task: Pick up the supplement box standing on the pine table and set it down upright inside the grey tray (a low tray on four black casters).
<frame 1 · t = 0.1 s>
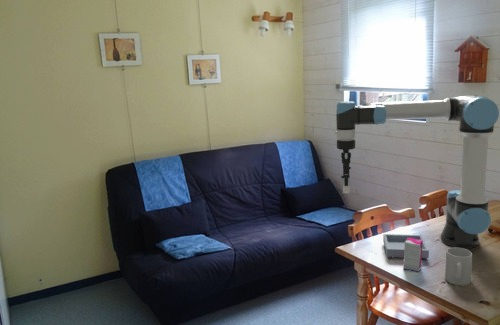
hand: (346, 188, 178), 28 cm above the table, fingers open, 13 cm apart
supplement box: (412, 268, 164), on the table
mug: (457, 282, 152), on the table
grey tray: (404, 252, 178), on the table
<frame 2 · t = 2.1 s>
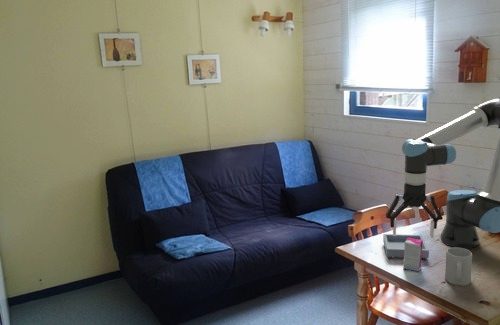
hand: (412, 235, 162), 13 cm above the table, fingers open, 13 cm apart
nothing on the table moved.
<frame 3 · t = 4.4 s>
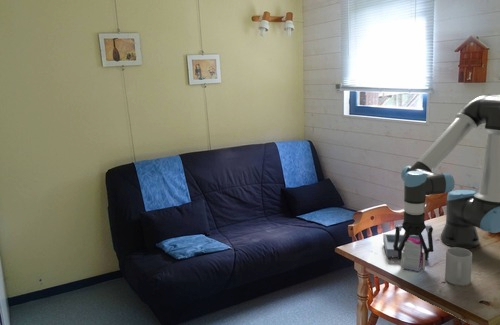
hand: (412, 267, 165), 0 cm above the table, fingers closed on supplement box, 7 cm apart
supplement box: (412, 268, 164), on the table, touching gripper
everything else where it was.
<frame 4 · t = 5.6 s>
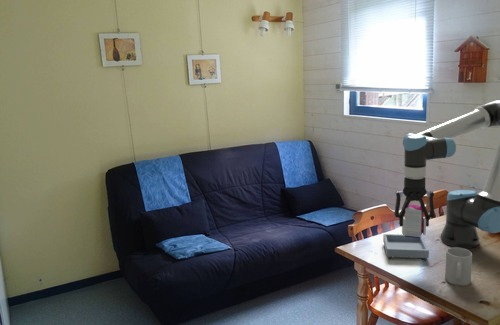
hand: (413, 233, 163), 14 cm above the table, fingers closed on supplement box, 7 cm apart
supplement box: (413, 235, 162), point 13 cm above the table, touching gripper
everything else where it was.
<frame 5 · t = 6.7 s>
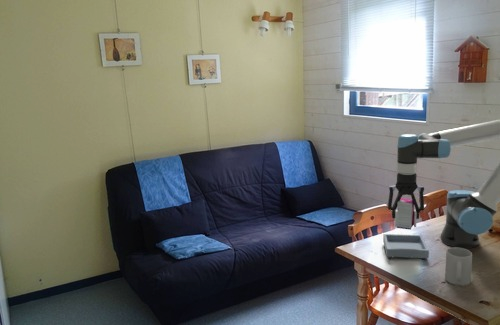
hand: (405, 225, 176), 12 cm above the table, fingers closed on supplement box, 7 cm apart
supplement box: (405, 227, 175), point 12 cm above the table, touching gripper
everything else where it was.
when the fingers open (4 cm above the table, at t = 8.5 s): supplement box drops 2 cm, resting on grey tray.
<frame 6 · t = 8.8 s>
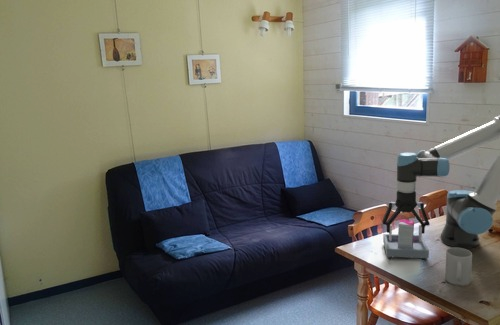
hand: (405, 240, 177), 6 cm above the table, fingers open, 11 cm apart
supplement box: (405, 248, 177), point 2 cm above the table, touching grey tray
everything else where it was.
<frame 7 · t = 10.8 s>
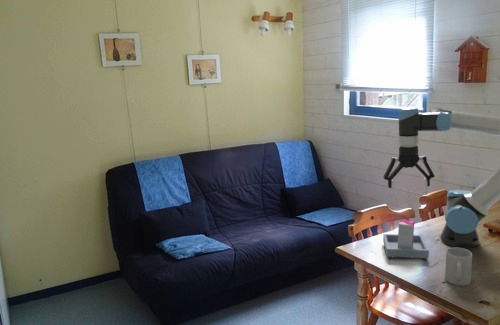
hand: (408, 194, 179), 24 cm above the table, fingers open, 13 cm apart
nothing on the table moved.
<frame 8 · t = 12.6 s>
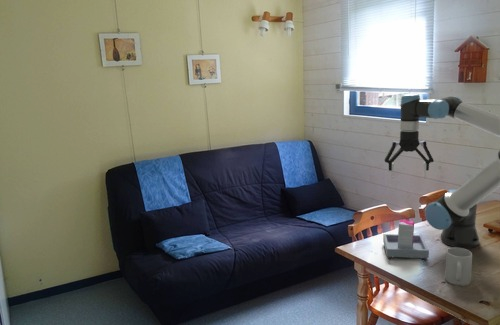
hand: (408, 177, 187), 29 cm above the table, fingers open, 13 cm apart
nothing on the table moved.
at the end: supplement box inside the target area on the grey tray (0.5 cm from its centre), point 2.1 cm above the grey tray's base; supplement box tilted 0°; the gripper is holding nothing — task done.
